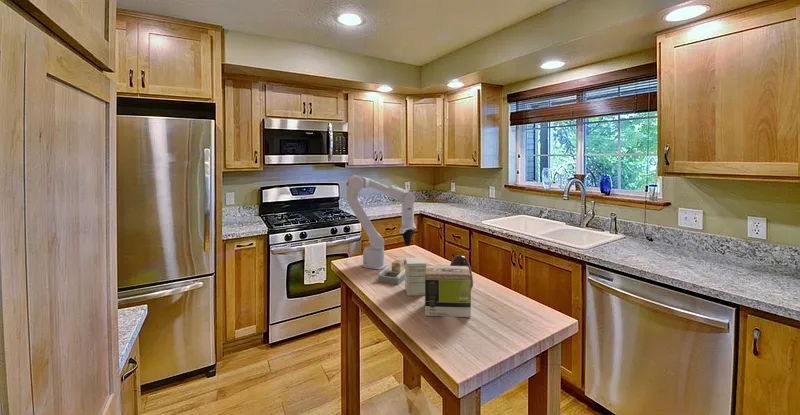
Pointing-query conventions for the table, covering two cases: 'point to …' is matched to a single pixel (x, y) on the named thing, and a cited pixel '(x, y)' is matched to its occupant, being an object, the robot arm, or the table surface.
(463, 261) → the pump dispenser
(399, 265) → the maple block
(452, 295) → the tea box
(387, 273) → the trap lane
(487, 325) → the table surface
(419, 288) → the supplement box
